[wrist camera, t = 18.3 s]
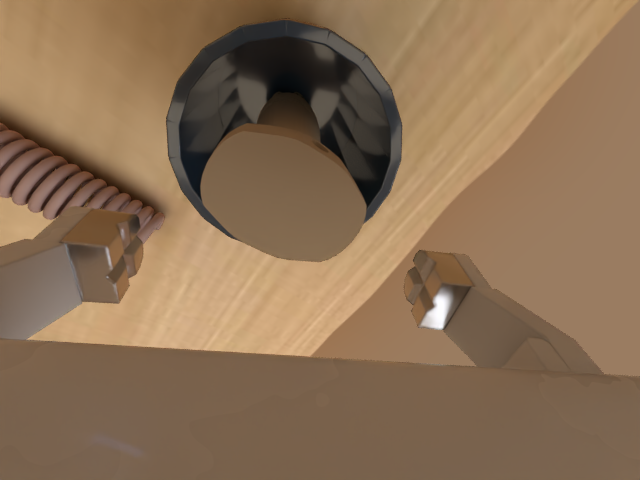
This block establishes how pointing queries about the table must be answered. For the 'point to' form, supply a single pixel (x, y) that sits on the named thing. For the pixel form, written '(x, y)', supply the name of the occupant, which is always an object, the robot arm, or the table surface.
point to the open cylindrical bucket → (285, 76)
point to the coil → (60, 184)
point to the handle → (283, 185)
